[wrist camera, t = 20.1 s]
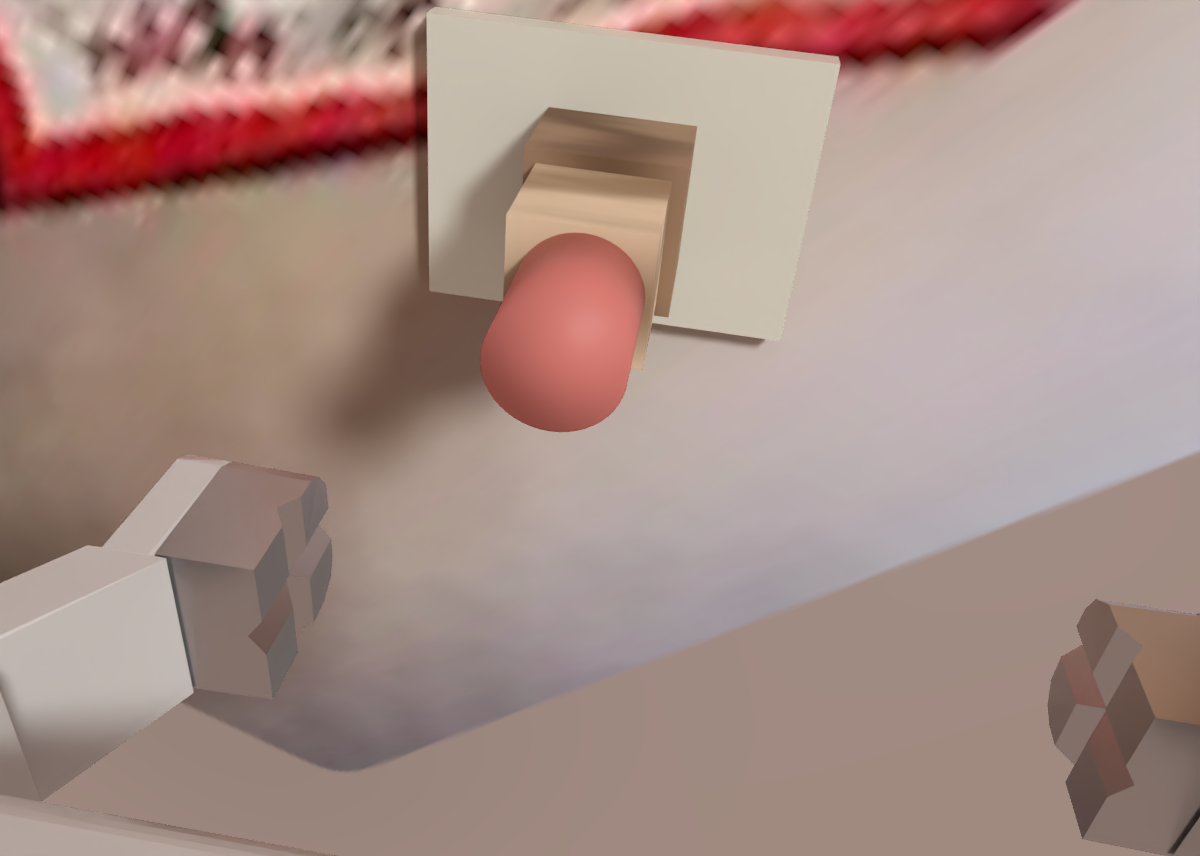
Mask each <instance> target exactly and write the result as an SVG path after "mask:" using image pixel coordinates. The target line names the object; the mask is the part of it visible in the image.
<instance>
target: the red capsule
mask: <svg viewBox="0 0 1200 856" xmlns="http://www.w3.org/2000/svg"><path fill="white" fill-rule="evenodd" d="M644 305H645V288H644V284H643V280H642V277H641V275H640V272H639V270H638V269H637V267H636V265H635V264H634V262H633V261H632V260H631V258H630V257H629V256H628V255H627V254H626V253H625V252H624V251H623V250H622V249H620V248H619V247H618V246H616V245H615V244H613V243H612V242H610V241H608V240H606V239H604V238H601V237H598V236H595V235H591V234H586V233H564V234H559V235H556V236H552V237H550V238H548V239H545V240H543V241H542V242H540V243H539V244H537V245H536V246H535V247H534V248H532V249H531V250H530V251H529V252H528V254H527V255H526V256H525V257H524V259H523V261H522V262H521V264H520V266H519V268H518V270H517V272H516V274H515V276H514V279H513V281H512V283H511V285H510V287H509V289H508V291H507V293H506V295H505V297H504V299H503V301H502V303H501V305H500V307H499V310H498V312H497V314H496V316H495V318H494V320H493V322H492V324H491V326H490V328H489V330H488V332H487V334H486V337H485V339H484V341H483V344H482V348H481V355H480V366H481V372H482V376H483V379H484V382H485V385H486V387H487V389H488V391H489V392H490V394H491V395H492V397H493V398H494V400H495V401H496V402H497V403H498V404H499V406H500V407H502V408H503V409H504V410H505V411H506V412H507V413H508V414H510V415H511V416H512V417H514V418H515V419H517V420H519V421H521V422H522V423H525V424H527V425H529V426H532V427H535V428H538V429H541V430H546V431H553V432H571V431H578V430H582V429H585V428H588V427H591V426H593V425H595V424H597V423H599V422H601V421H602V420H604V419H605V418H606V417H608V416H609V415H610V414H611V413H612V412H613V411H614V410H615V409H616V407H617V406H618V405H619V403H620V402H621V400H622V398H623V396H624V393H625V390H626V387H627V382H628V378H629V373H630V369H631V364H632V360H633V355H634V351H635V346H636V342H637V337H638V333H639V328H640V324H641V319H642V315H643V310H644Z"/></svg>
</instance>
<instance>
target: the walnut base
mask: <svg viewBox="0 0 1200 856" xmlns="http://www.w3.org/2000/svg"><path fill="white" fill-rule="evenodd" d="M696 133H697V126H691V125H684V124H676V123H668V122H661V121H653V120H645V119H638V118H630V117H622V116H614V115H607V114H599V113H591V112H584V111H576V110H568V109H561V108H553V107H549V108H548V109H547V111H546V112H545V114H544V116H543V117H542V119H541V121H540V122H539V124H538V125H537V127H536V129H535V130H534V132H533V133H532V135H531V137H530V138H529V140H528V142H527V143H526V145H525V146H524V162H523V184H524V183H525V181H526V179H527V177H528V175H529V174H530V172H531V170H532V168H533V167H534V165H535V163H540V164H547V165H554V166H562V167H569V168H577V169H584V170H592V171H599V172H607V173H614V174H622V175H629V176H636V177H644V178H651V179H659V180H666V181H672V186H671V194H670V201H669V209H668V216H667V224H666V231H665V239H664V246H663V254H662V261H661V269H660V277H659V284H658V292H657V299H656V306H655V311H654V316H661V317H669V311H670V306H671V300H672V294H673V289H674V283H675V277H676V271H677V266H678V259H679V252H680V245H681V238H682V231H683V224H684V217H685V210H686V203H687V196H688V189H689V182H690V175H691V168H692V161H693V154H694V147H695V140H696ZM523 184H522V186H523Z"/></svg>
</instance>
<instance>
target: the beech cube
mask: <svg viewBox="0 0 1200 856" xmlns="http://www.w3.org/2000/svg"><path fill="white" fill-rule="evenodd" d="M671 186H672V181H666V180H659V179H651V178H644V177H636V176H629V175H622V174H614V173H607V172H599V171H592V170H584V169H577V168H569V167H562V166H554V165H547V164H540V163H535V165H534V167H533V168H532V170H531V172H530V174H529V175H528V177H527V179H526V181H525V183H524V184H523V186H522V188H521V190H520V191H519V193H518V195H517V197H516V198H515V200H514V202H513V204H512V205H511V207H510V209H509V211H508V213H507V214H506V234H505V262H504V289H503V299H504V297H505V295H506V293H507V291H508V289H509V287H510V285H511V283H512V281H513V279H514V276H515V274H516V272H517V270H518V268H519V266H520V264H521V262H522V261H523V259H524V257H525V256H526V255H527V254H528V252H529V251H530V250H531V249H532V248H534V247H535V246H536V245H537V244H539V243H540V242H542V241H543V240H545V239H548V238H550V237H552V236H556V235H559V234H564V233H586V234H591V235H595V236H598V237H601V238H604V239H606V240H608V241H610V242H612V243H613V244H615V245H616V246H618V247H619V248H620V249H622V250H623V251H624V252H625V253H626V254H627V255H628V256H629V257H630V258H631V260H632V261H633V262H634V264H635V265H636V267H637V269H638V270H639V272H640V275H641V277H642V280H643V284H644V288H645V305H644V310H643V315H642V319H641V324H640V328H639V333H638V337H637V342H636V346H635V351H634V355H633V360H632V364H631V368H633V369H640V370H643V366H644V361H645V356H646V351H647V346H648V341H649V336H650V331H651V326H652V321H653V316H654V311H655V306H656V299H657V292H658V284H659V277H660V269H661V261H662V254H663V246H664V239H665V231H666V224H667V216H668V209H669V201H670V194H671Z"/></svg>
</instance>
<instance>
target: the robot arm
mask: <svg viewBox="0 0 1200 856" xmlns="http://www.w3.org/2000/svg"><path fill="white" fill-rule="evenodd" d="M327 509H328V500H327V492H326V484H325V482H323V481H322V480H321V479H320V478H319V477H316V476H311V475H305V474H300V473H294V472H288V471H283V470H277V469H272V468H266V467H261V466H255V465H250V464H244V463H238V462H228V461H224V460H218V459H212V458H206V457H201V456H195V455H186V456H183V457H181V458H178V459H177V460H175V461H174V462H173V464H172V465H171V466H170V467H169V468H168V470H167V471H166V472H165V473H164V474H163V475H162V477H161V478H160V479H159V480H158V481H157V482H156V484H155V485H154V486H153V487H152V488H151V490H150V491H149V492H148V493H147V494H146V495H145V497H144V498H143V499H142V500H141V501H140V502H139V504H138V505H137V506H136V507H135V508H134V509H133V511H132V512H131V513H130V514H129V515H128V517H127V518H126V519H125V520H124V521H123V522H122V524H121V525H120V526H119V527H118V528H117V529H116V531H115V532H114V533H113V534H112V535H111V537H110V538H109V539H108V540H107V541H106V542H105V544H104V545H103V546H102V547H96V546H89V545H87V546H85V547H83V548H80V549H78V550H76V551H73V552H71V553H69V554H66V555H64V556H62V557H59V558H57V559H55V560H53V561H50V562H48V563H46V564H43V565H41V566H39V567H36V568H34V569H32V570H30V571H27V572H25V573H23V574H20V575H18V576H16V577H13V578H11V579H9V580H7V581H4V582H2V583H0V856H336V855H331V854H325V853H320V852H314V851H309V850H303V849H297V848H292V847H287V846H281V845H276V844H270V843H265V842H259V841H254V840H248V839H243V838H237V837H231V836H226V835H221V834H215V833H209V832H204V831H199V830H193V829H188V828H182V827H176V826H171V825H166V824H160V823H155V822H149V821H144V820H138V819H132V818H127V817H122V816H116V815H111V814H105V813H99V812H94V811H89V810H82V809H78V808H72V807H67V806H61V805H55V804H50V803H44V802H41V801H43V800H44V799H46V798H47V797H48V796H50V795H51V794H53V793H54V792H55V791H57V790H58V789H60V788H61V787H62V786H64V785H65V784H67V783H68V782H69V781H71V780H72V779H74V778H75V777H76V776H78V775H79V774H81V773H82V772H83V771H85V770H86V769H88V768H89V767H90V766H92V765H93V764H95V763H96V762H97V761H99V760H100V759H102V758H103V757H104V756H106V755H107V754H109V753H110V752H111V751H113V750H114V749H116V748H117V747H118V746H120V745H121V744H122V743H124V742H125V741H127V740H128V739H129V738H131V737H132V736H134V735H135V734H136V733H138V732H139V731H141V730H142V729H143V728H145V727H146V726H148V725H149V724H150V723H152V722H153V721H155V720H156V719H157V718H159V717H160V716H162V715H163V714H165V713H166V712H167V711H169V710H170V709H172V708H173V707H174V706H176V705H177V704H179V703H180V702H181V701H183V700H184V699H186V698H187V697H188V696H190V695H191V694H193V692H194V690H193V688H196V689H203V690H210V691H217V692H224V693H231V694H238V695H245V696H252V697H258V698H265V699H272V700H273V698H274V696H275V694H276V692H277V691H278V689H279V687H280V685H281V683H282V681H283V679H284V677H285V676H286V674H287V672H288V670H289V668H290V666H291V664H292V662H293V661H294V659H295V657H296V655H297V653H298V650H297V640H296V632H298V631H299V630H301V629H303V628H304V627H306V626H308V625H310V624H311V623H313V622H314V621H315V619H316V617H317V615H318V613H319V611H320V608H321V606H322V604H323V602H324V599H325V595H326V592H327V588H328V585H329V581H330V577H331V567H332V544H331V538H330V537H329V536H328V535H327V534H326V532H325V531H324V530H323V529H322V528H321V526H320V525H319V523H320V521H321V520H322V518H323V516H324V514H325V513H326V511H327ZM1077 629H1078V632H1079V635H1080V638H1081V641H1082V644H1083V645H1081V646H1079V647H1077V648H1076V649H1074V650H1072V651H1070V652H1069V653H1067V654H1065V655H1063V656H1062V657H1061V659H1060V661H1059V663H1058V666H1057V668H1056V670H1055V672H1054V675H1053V677H1052V679H1051V685H1050V692H1049V699H1048V714H1049V725H1050V729H1051V733H1052V736H1053V740H1054V744H1055V746H1056V747H1057V748H1058V749H1059V750H1060V751H1061V752H1062V753H1063V754H1064V755H1065V756H1066V757H1067V758H1068V759H1069V760H1070V761H1071V762H1072V763H1073V764H1074V767H1073V769H1072V771H1071V773H1070V775H1069V776H1068V778H1067V780H1066V785H1067V789H1068V792H1069V795H1070V799H1071V802H1072V805H1073V809H1074V812H1075V815H1076V819H1077V822H1078V826H1079V829H1080V832H1081V836H1082V839H1085V840H1090V841H1095V842H1100V843H1105V844H1110V845H1115V846H1120V847H1125V848H1130V849H1135V850H1140V851H1145V852H1150V853H1155V854H1160V855H1166V856H1200V613H1198V614H1191V613H1185V612H1179V611H1172V610H1165V609H1159V608H1152V607H1146V606H1139V605H1132V604H1125V603H1119V602H1112V601H1106V600H1099V599H1096V600H1094V601H1093V602H1092V603H1091V604H1090V605H1089V606H1088V607H1087V608H1086V609H1085V611H1084V613H1083V615H1082V617H1081V619H1080V621H1079V622H1078V624H1077Z"/></svg>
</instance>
